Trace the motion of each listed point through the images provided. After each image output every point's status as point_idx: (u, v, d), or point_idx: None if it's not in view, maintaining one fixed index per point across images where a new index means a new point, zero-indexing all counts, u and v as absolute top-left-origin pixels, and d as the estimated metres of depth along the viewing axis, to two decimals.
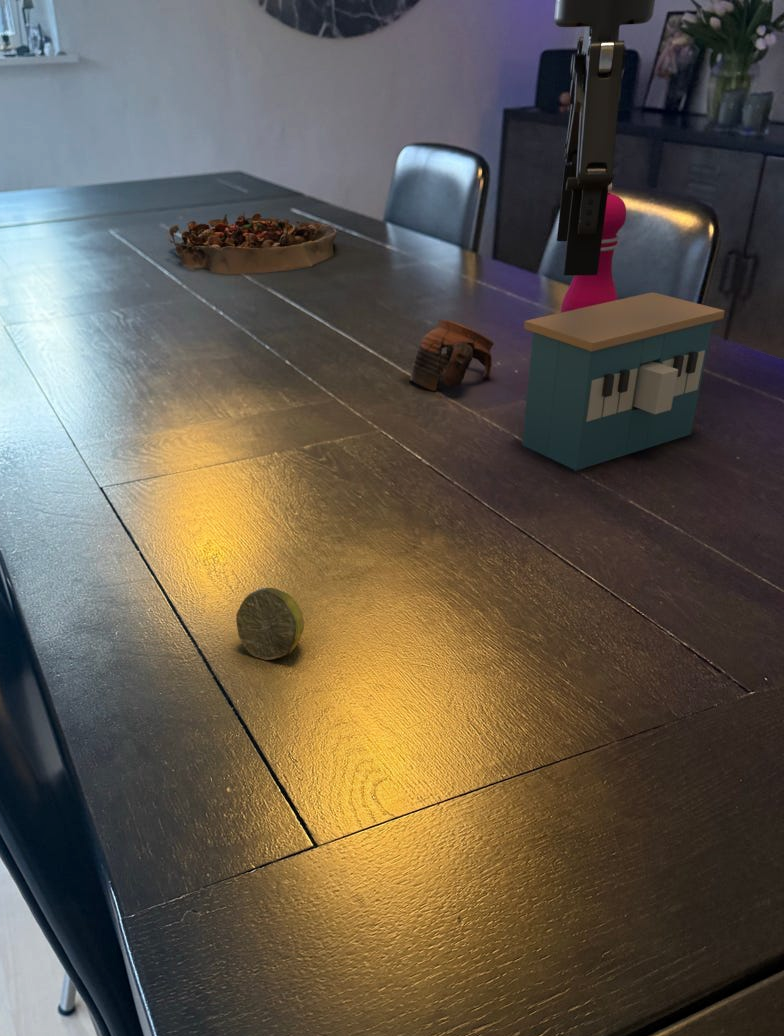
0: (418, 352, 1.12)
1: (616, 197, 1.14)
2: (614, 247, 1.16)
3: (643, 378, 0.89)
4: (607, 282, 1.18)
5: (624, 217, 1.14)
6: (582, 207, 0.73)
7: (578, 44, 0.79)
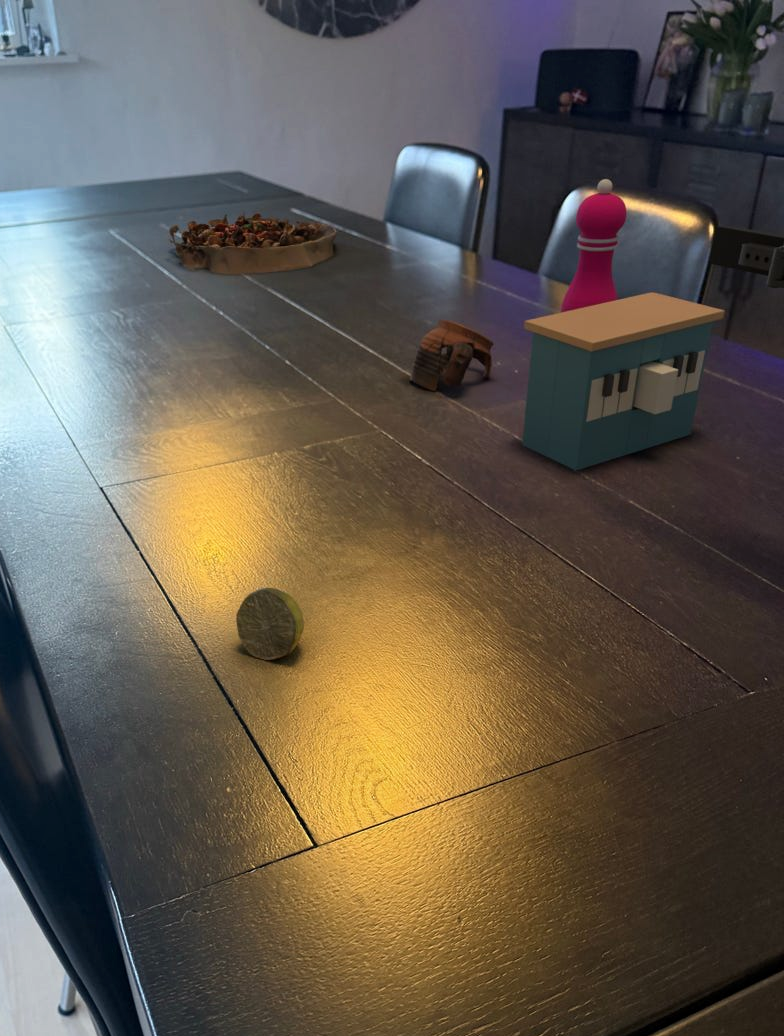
0: (418, 352, 1.12)
1: (616, 197, 1.14)
2: (614, 247, 1.16)
3: (643, 378, 0.89)
4: (607, 282, 1.18)
5: (624, 217, 1.14)
6: None
7: None
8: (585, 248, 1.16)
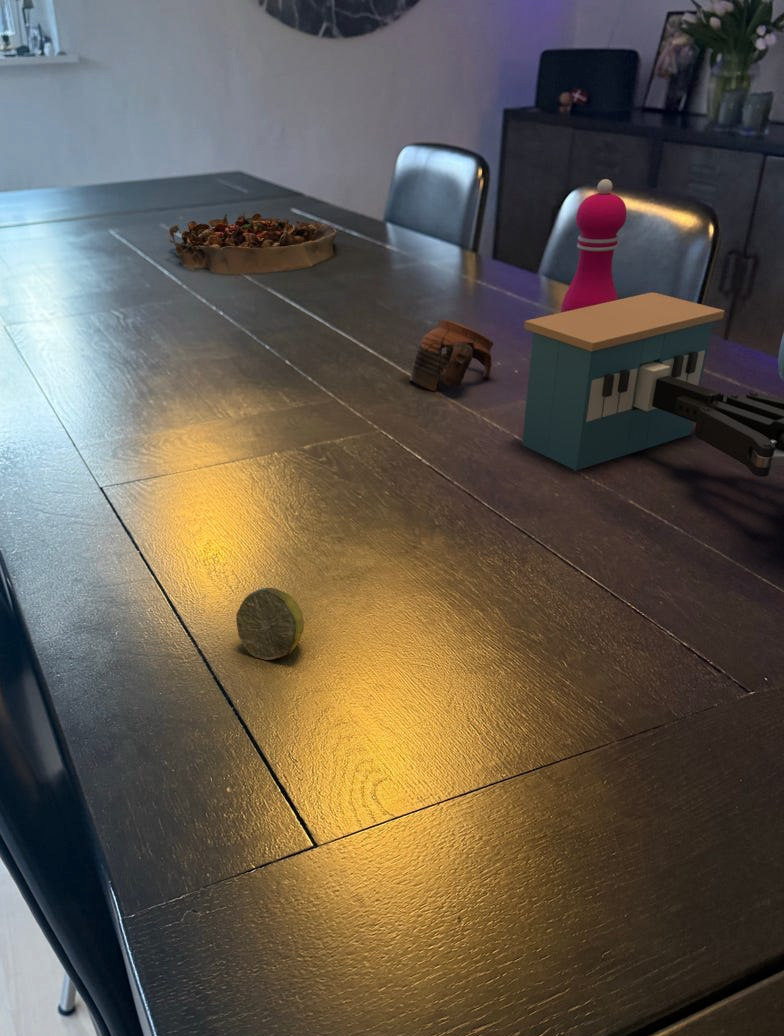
0: (418, 352, 1.12)
1: (616, 197, 1.14)
2: (614, 247, 1.16)
3: None
4: (607, 282, 1.18)
5: (624, 217, 1.14)
6: None
7: None
8: (585, 248, 1.16)
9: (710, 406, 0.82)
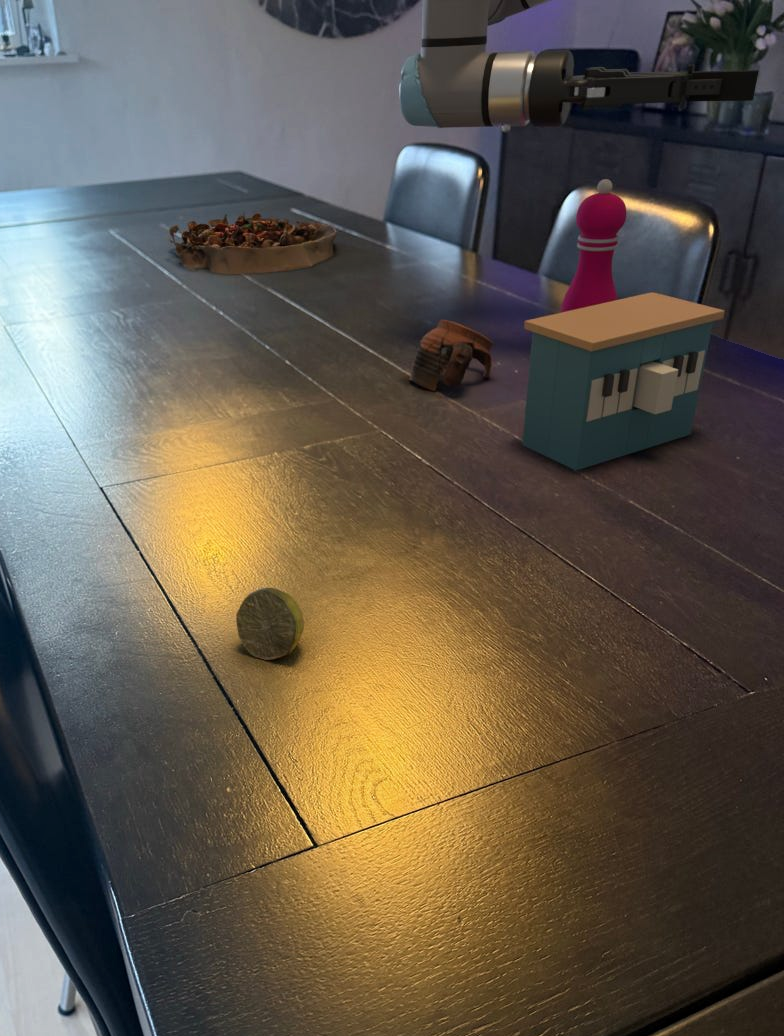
0: (418, 352, 1.12)
1: (616, 197, 1.14)
2: (614, 247, 1.16)
3: (643, 378, 0.89)
4: (607, 282, 1.18)
5: (624, 217, 1.14)
6: (699, 93, 0.99)
7: None
8: (585, 248, 1.16)
9: None
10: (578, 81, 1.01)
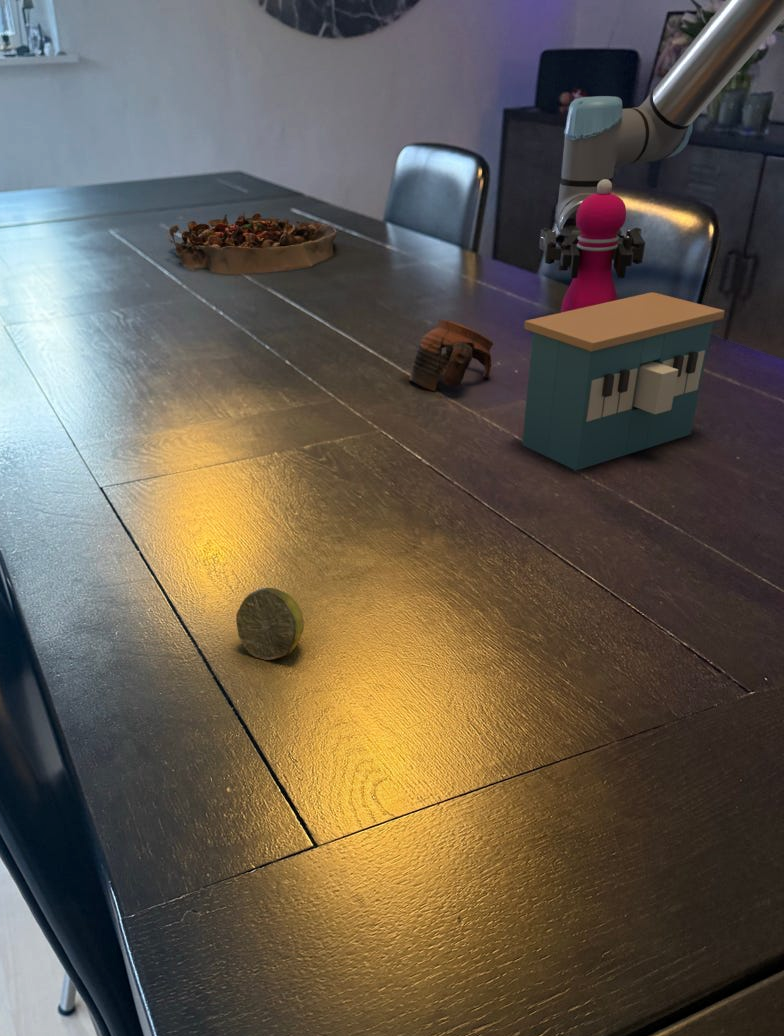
0: (418, 352, 1.12)
1: (616, 197, 1.14)
2: (614, 247, 1.16)
3: (643, 378, 0.89)
4: (607, 282, 1.18)
5: (624, 217, 1.14)
6: (560, 261, 1.20)
7: None
8: (585, 248, 1.16)
9: None
10: (560, 230, 1.29)
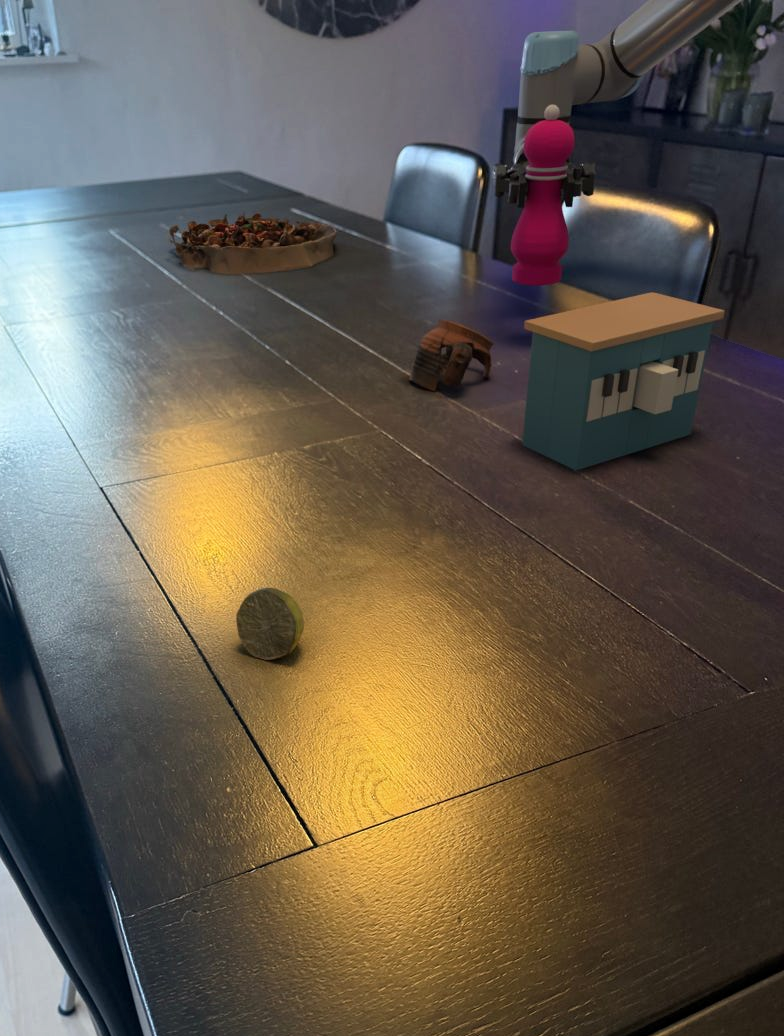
0: (418, 352, 1.12)
1: (563, 123, 1.10)
2: (562, 176, 1.13)
3: (643, 378, 0.89)
4: (557, 214, 1.15)
5: (572, 144, 1.11)
6: None
7: None
8: (533, 177, 1.13)
9: (580, 175, 1.16)
10: (513, 165, 1.25)
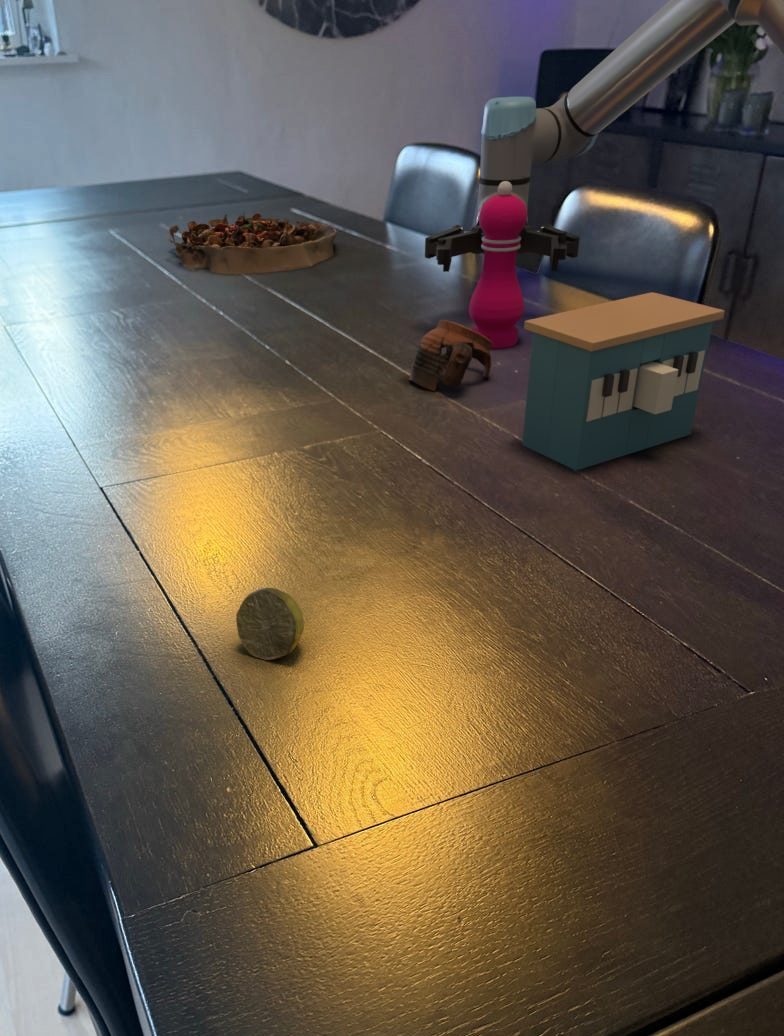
0: (418, 352, 1.12)
1: (516, 199, 1.16)
2: (516, 248, 1.18)
3: (643, 378, 0.89)
4: (511, 282, 1.21)
5: (524, 218, 1.16)
6: None
7: None
8: (488, 249, 1.19)
9: None
10: None
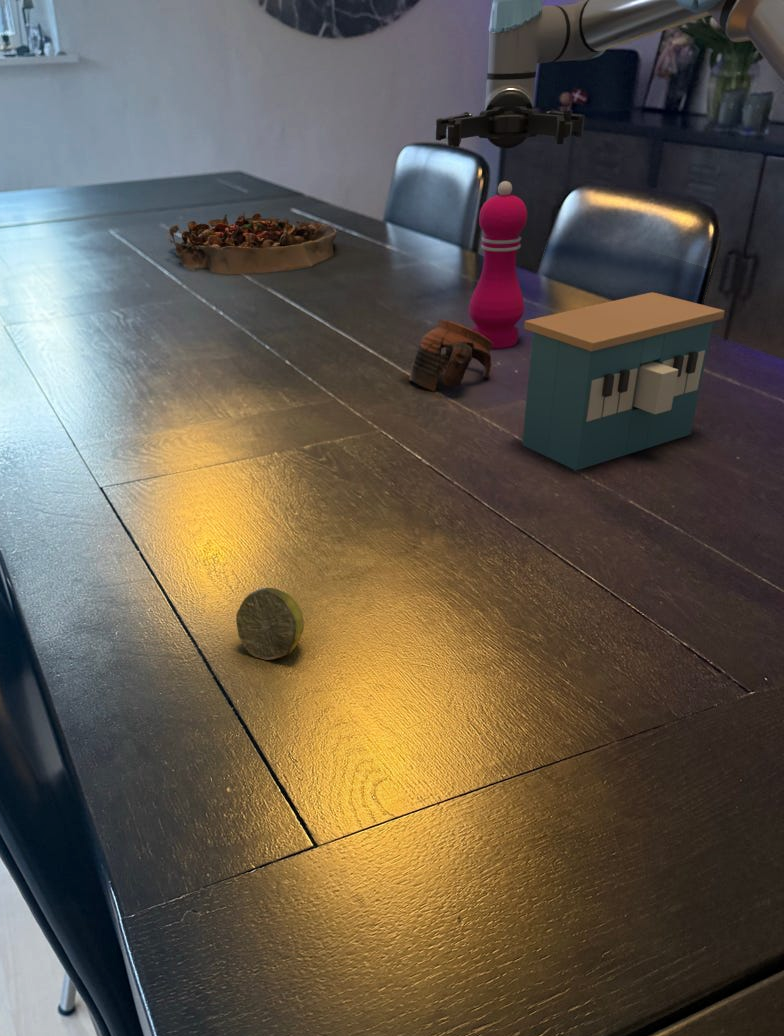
0: (417, 352, 1.12)
1: (516, 199, 1.16)
2: (516, 248, 1.18)
3: (643, 378, 0.89)
4: (511, 282, 1.21)
5: (524, 218, 1.16)
6: None
7: None
8: (488, 249, 1.19)
9: None
10: None
